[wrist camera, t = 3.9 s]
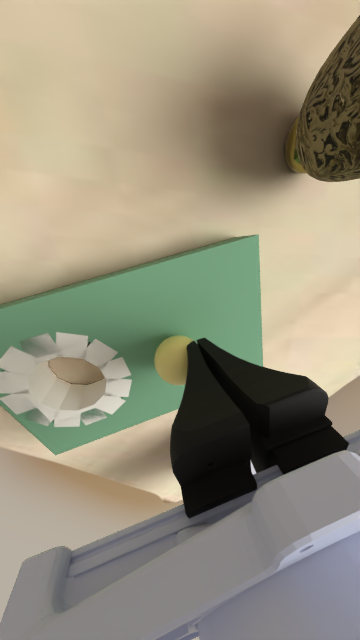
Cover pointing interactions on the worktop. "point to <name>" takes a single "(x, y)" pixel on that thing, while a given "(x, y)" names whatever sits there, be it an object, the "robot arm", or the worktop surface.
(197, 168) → the worktop surface
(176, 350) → the ball
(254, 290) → the green rectangular slab
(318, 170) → the cup
